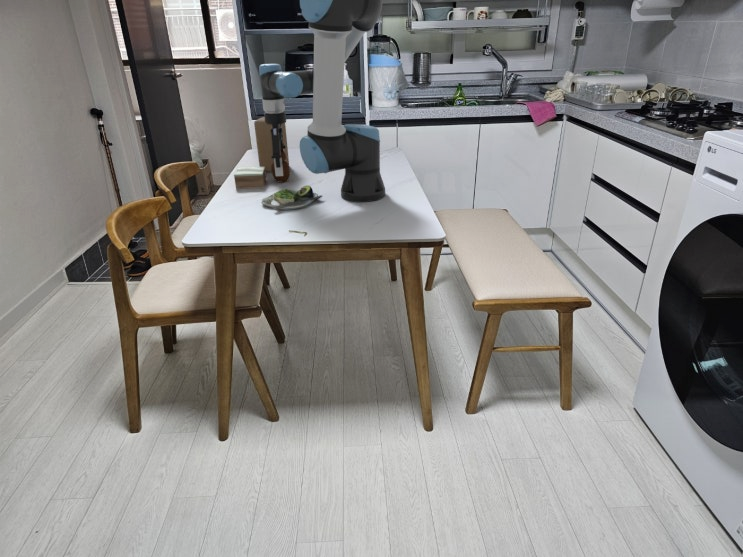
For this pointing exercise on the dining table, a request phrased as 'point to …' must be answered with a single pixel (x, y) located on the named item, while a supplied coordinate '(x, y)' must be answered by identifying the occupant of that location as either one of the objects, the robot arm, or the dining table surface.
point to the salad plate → (291, 198)
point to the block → (267, 143)
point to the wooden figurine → (285, 169)
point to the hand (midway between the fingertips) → (280, 171)
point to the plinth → (250, 177)
